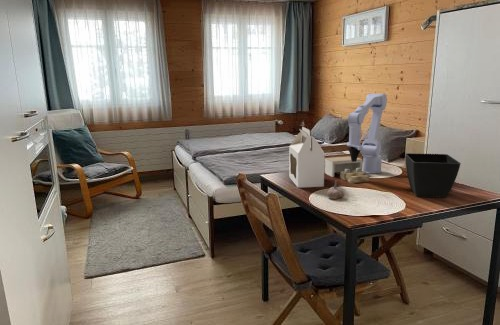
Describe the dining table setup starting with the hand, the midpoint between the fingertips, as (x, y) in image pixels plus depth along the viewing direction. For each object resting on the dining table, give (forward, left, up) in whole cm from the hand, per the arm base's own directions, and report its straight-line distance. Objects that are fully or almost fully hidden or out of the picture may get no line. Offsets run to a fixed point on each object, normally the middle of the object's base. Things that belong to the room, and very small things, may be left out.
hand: (353, 161), depth 200 cm
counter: (0, -12, -9) cm, 15 cm away
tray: (0, +2, -9) cm, 10 cm away
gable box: (+26, -3, -10) cm, 28 cm away
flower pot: (-19, +34, -10) cm, 40 cm away
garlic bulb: (+24, +27, -10) cm, 38 cm away
